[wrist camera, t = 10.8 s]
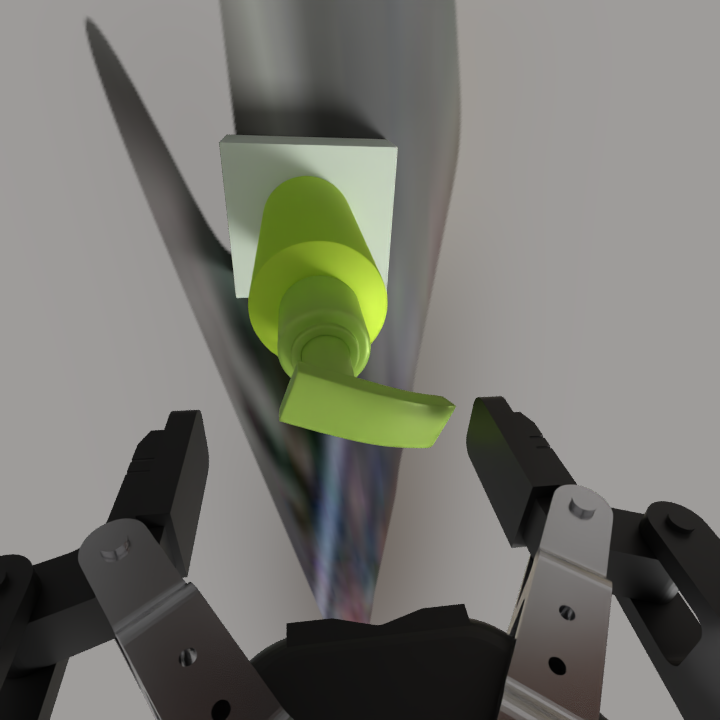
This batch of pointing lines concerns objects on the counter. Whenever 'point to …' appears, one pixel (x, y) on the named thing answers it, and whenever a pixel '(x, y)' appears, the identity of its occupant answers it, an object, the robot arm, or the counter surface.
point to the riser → (306, 158)
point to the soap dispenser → (330, 321)
